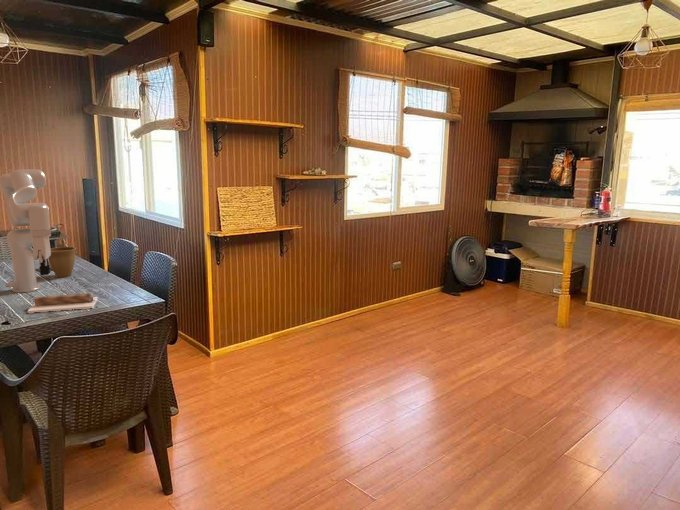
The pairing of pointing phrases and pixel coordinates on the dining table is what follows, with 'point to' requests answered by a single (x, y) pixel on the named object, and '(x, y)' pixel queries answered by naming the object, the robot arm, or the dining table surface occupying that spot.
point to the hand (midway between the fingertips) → (45, 273)
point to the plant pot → (62, 260)
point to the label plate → (63, 306)
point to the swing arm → (63, 299)
